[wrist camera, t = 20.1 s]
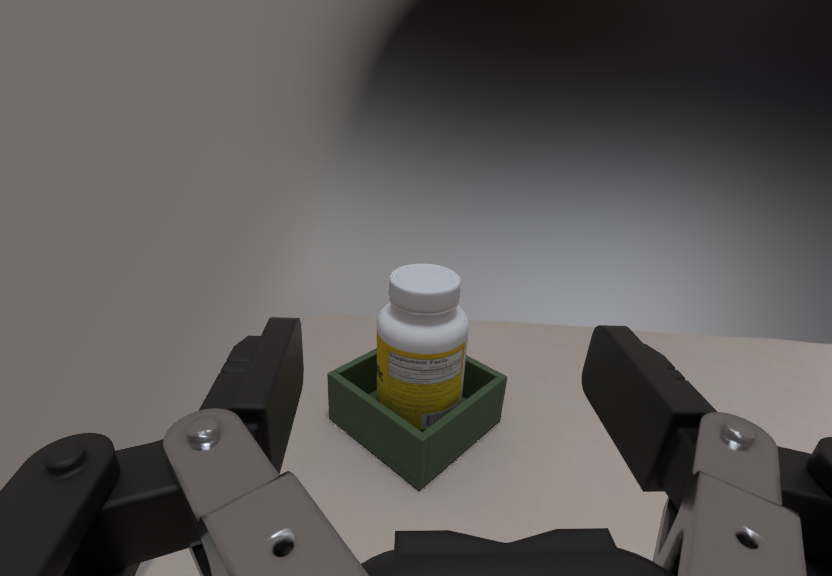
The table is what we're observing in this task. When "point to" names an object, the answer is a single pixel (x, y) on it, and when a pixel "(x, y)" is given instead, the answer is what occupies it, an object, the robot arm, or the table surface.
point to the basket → (399, 439)
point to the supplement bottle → (421, 344)
